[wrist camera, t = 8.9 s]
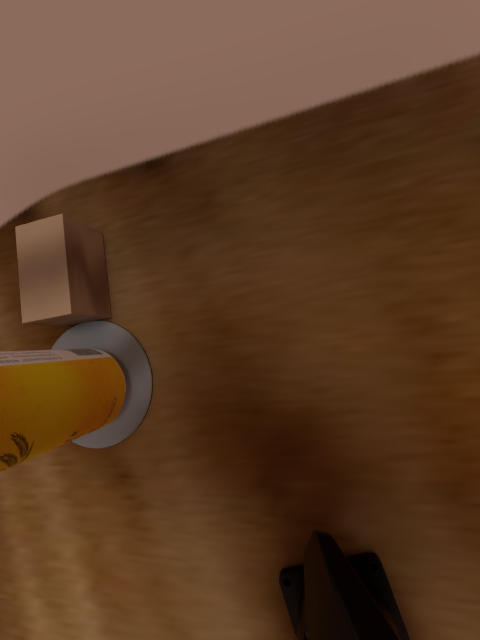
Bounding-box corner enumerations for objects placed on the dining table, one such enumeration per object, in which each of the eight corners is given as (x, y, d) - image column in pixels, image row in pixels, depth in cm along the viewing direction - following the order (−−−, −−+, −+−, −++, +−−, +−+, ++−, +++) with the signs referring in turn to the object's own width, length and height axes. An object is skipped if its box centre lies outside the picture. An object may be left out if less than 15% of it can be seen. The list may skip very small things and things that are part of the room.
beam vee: (214, 319, 21) (194, 314, 17) (70, 522, 22) (21, 562, 18) (79, 217, 24) (36, 193, 20) (-39, 401, 25) (-101, 413, 21)
